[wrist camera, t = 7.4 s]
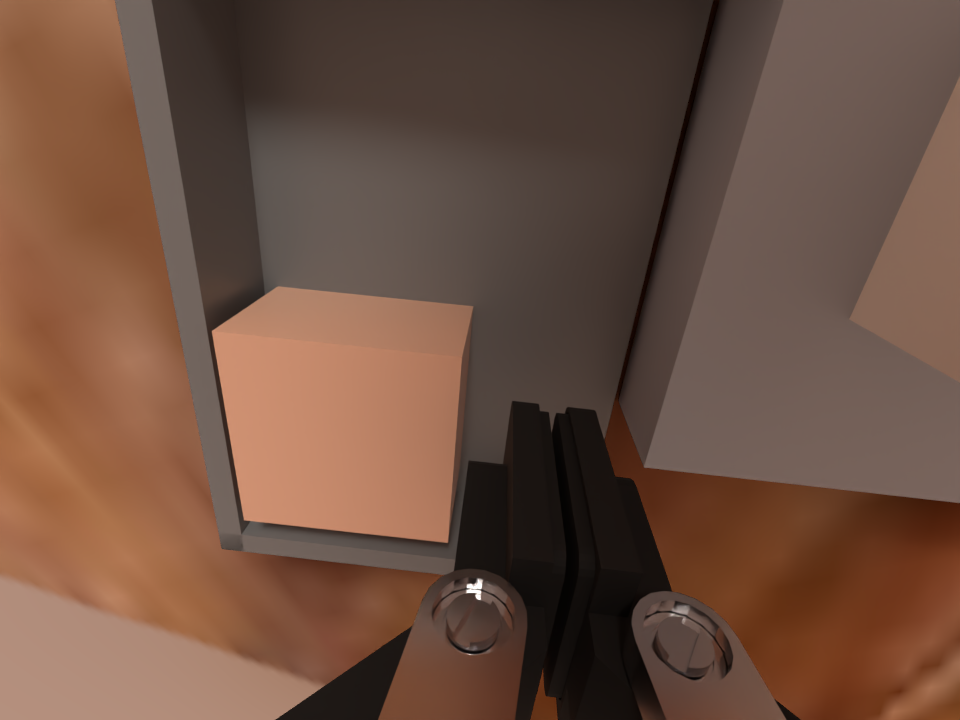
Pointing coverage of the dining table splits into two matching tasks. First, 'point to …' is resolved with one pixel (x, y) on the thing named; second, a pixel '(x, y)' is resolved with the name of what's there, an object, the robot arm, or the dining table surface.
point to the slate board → (797, 255)
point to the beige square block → (923, 259)
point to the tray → (413, 191)
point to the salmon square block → (346, 410)
